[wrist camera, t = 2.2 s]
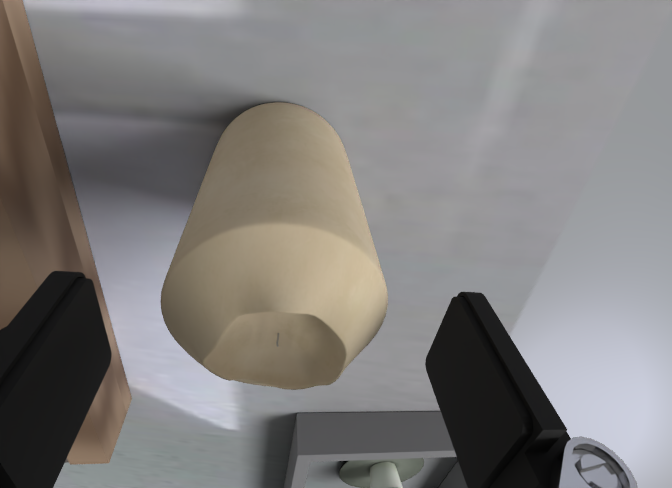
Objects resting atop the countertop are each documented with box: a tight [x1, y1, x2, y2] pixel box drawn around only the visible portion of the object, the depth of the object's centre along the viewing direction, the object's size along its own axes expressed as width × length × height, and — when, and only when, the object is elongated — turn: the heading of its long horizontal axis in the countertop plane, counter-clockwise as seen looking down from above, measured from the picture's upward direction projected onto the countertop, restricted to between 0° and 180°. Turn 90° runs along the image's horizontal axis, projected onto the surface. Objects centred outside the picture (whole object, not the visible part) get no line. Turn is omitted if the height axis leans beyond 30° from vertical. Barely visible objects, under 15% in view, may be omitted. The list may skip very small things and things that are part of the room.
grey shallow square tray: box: [284, 411, 468, 488], centre depth 33 cm, size 17×17×3 cm
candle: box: [161, 102, 388, 390], centre depth 12 cm, size 6×6×10 cm
